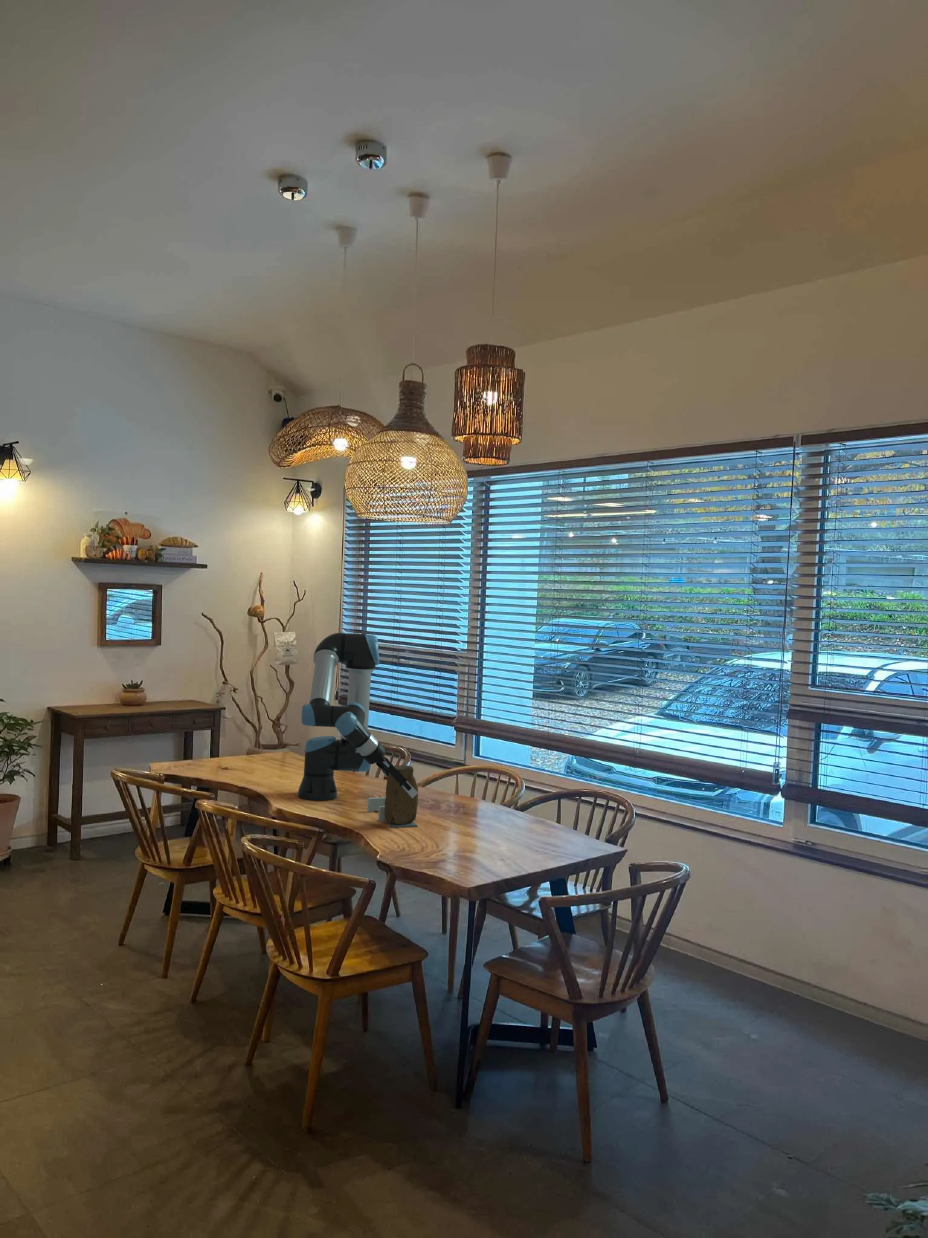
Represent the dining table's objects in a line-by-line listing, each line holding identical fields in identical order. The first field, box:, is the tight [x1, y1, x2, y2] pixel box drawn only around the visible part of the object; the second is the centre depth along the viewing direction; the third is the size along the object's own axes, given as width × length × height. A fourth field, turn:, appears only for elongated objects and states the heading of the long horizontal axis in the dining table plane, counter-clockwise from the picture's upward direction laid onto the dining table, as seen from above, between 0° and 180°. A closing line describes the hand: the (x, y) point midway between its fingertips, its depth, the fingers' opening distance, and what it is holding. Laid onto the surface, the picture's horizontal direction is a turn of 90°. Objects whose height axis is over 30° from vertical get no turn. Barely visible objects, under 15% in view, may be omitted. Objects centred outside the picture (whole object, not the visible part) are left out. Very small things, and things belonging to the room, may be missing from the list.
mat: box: [383, 819, 418, 829], centre depth 314 cm, size 9×9×1 cm
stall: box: [367, 796, 417, 822], centre depth 325 cm, size 14×14×9 cm
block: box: [384, 764, 419, 825], centre depth 314 cm, size 11×8×20 cm
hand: (408, 791), depth 315 cm, fingers open, 13 cm apart
